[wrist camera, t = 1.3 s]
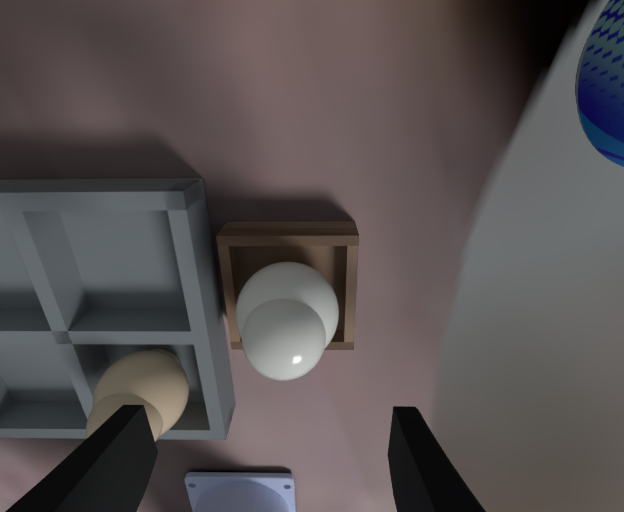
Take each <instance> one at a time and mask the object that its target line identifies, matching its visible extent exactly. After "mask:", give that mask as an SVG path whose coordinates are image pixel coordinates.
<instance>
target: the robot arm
mask: <svg viewBox="0 0 624 512" xmlns="http://www.w3.org/2000/svg"><path fill="white" fill-rule="evenodd" d="M157 454H158V450H157V447H156V444H155V440H154V437H153V434H152V430H151V427H150V424H149V420H148V417H147V414H146V410H145V407H144V405H122V406H121V407H120V408H119V409H118V410H117V411H116V412H115V413H114V414H113V415H111V416H110V417H109V418H108V419H107V420H106V421H105V422H104V423H103V424H102V425H101V426H100V427H99V428H98V429H97V430H95V431H94V432H93V433H92V434H91V435H90V436H89V437H88V438H87V439H86V440H85V441H84V442H83V443H82V444H81V445H80V446H78V447H77V448H76V449H75V450H74V451H73V452H72V453H71V454H70V455H69V456H68V457H67V458H65V459H64V460H63V461H62V462H61V463H60V464H59V465H58V466H57V467H56V468H55V469H53V470H52V471H51V472H50V473H49V474H48V475H47V476H46V477H45V478H44V479H42V480H41V481H40V482H39V483H38V484H37V485H36V486H34V487H33V488H32V489H31V490H30V491H29V492H28V493H26V494H25V495H24V496H23V497H22V498H21V499H19V500H18V501H17V502H16V503H15V504H14V505H13V506H11V507H10V508H9V509H8V510H7V511H6V512H136V511H137V509H138V506H139V504H140V502H141V500H142V497H143V495H144V493H145V490H146V487H147V485H148V482H149V479H150V476H151V473H152V470H153V467H154V464H155V460H156V457H157ZM388 460H389V467H390V475H391V482H392V488H393V495H394V499H395V504H396V508H397V512H486V511H485V510H484V509H483V507H482V506H481V505H480V503H479V502H478V500H477V499H476V498H475V496H474V495H473V494H472V492H471V491H470V490H469V488H468V487H467V485H466V484H465V482H464V481H463V479H462V478H461V476H460V475H459V473H458V472H457V471H456V469H455V468H454V466H453V465H452V464H451V462H450V460H449V459H448V458H447V456H446V454H445V453H444V451H443V450H442V448H441V447H440V445H439V443H438V442H437V440H436V439H435V437H434V435H433V434H432V432H431V430H430V429H429V427H428V426H427V424H426V422H425V420H424V419H423V417H422V415H421V413H420V412H419V410H418V409H417V408H416V407H395V406H393V415H392V423H391V432H390V440H389V449H388ZM184 481H185V485H186V489H187V492H188V496H189V500H190V504H191V508H192V511H193V512H296V505H295V487H294V476H293V475H292V474H290V473H236V472H189V473H187V474H186V476H185V479H184Z"/></svg>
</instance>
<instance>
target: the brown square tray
mask: <svg viewBox="0 0 624 512" xmlns="http://www.w3.org/2000/svg"><path fill="white" fill-rule="evenodd" d="M216 239H217V246H218V253H219V261H220V268H221V275H222V282H223V289H224V297H225V304H226V311H227V318H228V325H229V333H230V340H231V347H232V349H243V346H242V338H241V336H240V334H239V331H238V328H237V323H236V305H237V301H238V298H239V295H240V292H241V290H242V288H243V287H244V285H245V284H246V282H247V281H248V280H249V279H250V278H251V277H252V276H253V275H254V274H255V273H256V272H257V271H259V270H261V269H262V268H264V267H266V266H268V265H271V264H274V263H278V262H297V263H301V264H305V265H307V266H310V267H312V268H313V269H315V270H317V271H318V272H319V273H320V274H322V275H323V276H324V277H325V278H326V279H327V281H328V282H329V283H330V285H331V287H332V288H333V290H334V292H335V295H336V298H337V302H338V308H339V318H338V324H337V328H336V331H335V334H334V336H333V338H332V340H331V341H330V343H329V344H328V346H327V347H326V348H325V349H324V350H354V330H355V309H356V288H357V267H358V245H359V234H358V230H357V227H356V223H355V221H240V222H226V224H225V225H224V226H223V228H222V229H221V230H220V232H219V233H218V234H217V236H216Z"/></svg>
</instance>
